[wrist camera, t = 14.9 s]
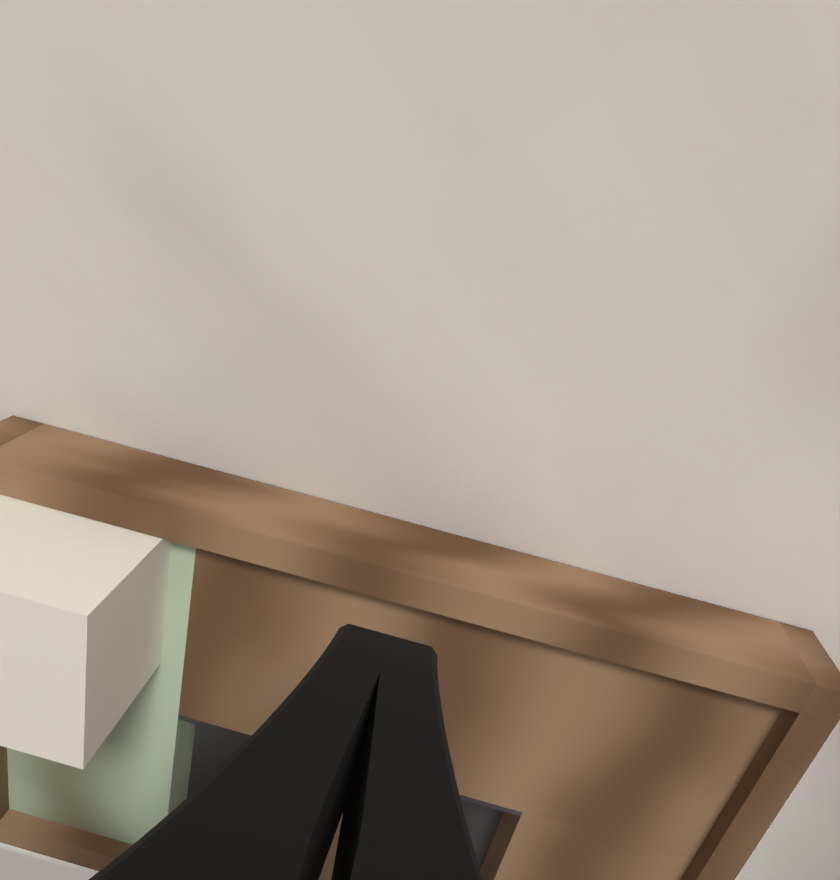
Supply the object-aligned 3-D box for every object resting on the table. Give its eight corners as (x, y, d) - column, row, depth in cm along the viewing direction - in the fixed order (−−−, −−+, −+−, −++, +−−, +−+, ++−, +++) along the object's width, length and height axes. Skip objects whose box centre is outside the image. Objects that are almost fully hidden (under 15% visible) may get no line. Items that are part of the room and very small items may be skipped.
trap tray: (812, 630, 19) (855, 695, 17) (625, 948, 25) (636, 1028, 23) (12, 415, 20) (-55, 447, 18) (21, 774, 26) (-28, 833, 24)
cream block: (172, 528, 18) (87, 616, 15) (160, 662, 20) (82, 770, 17) (5, 483, 19) (-121, 557, 15) (10, 620, 20) (-101, 716, 17)
